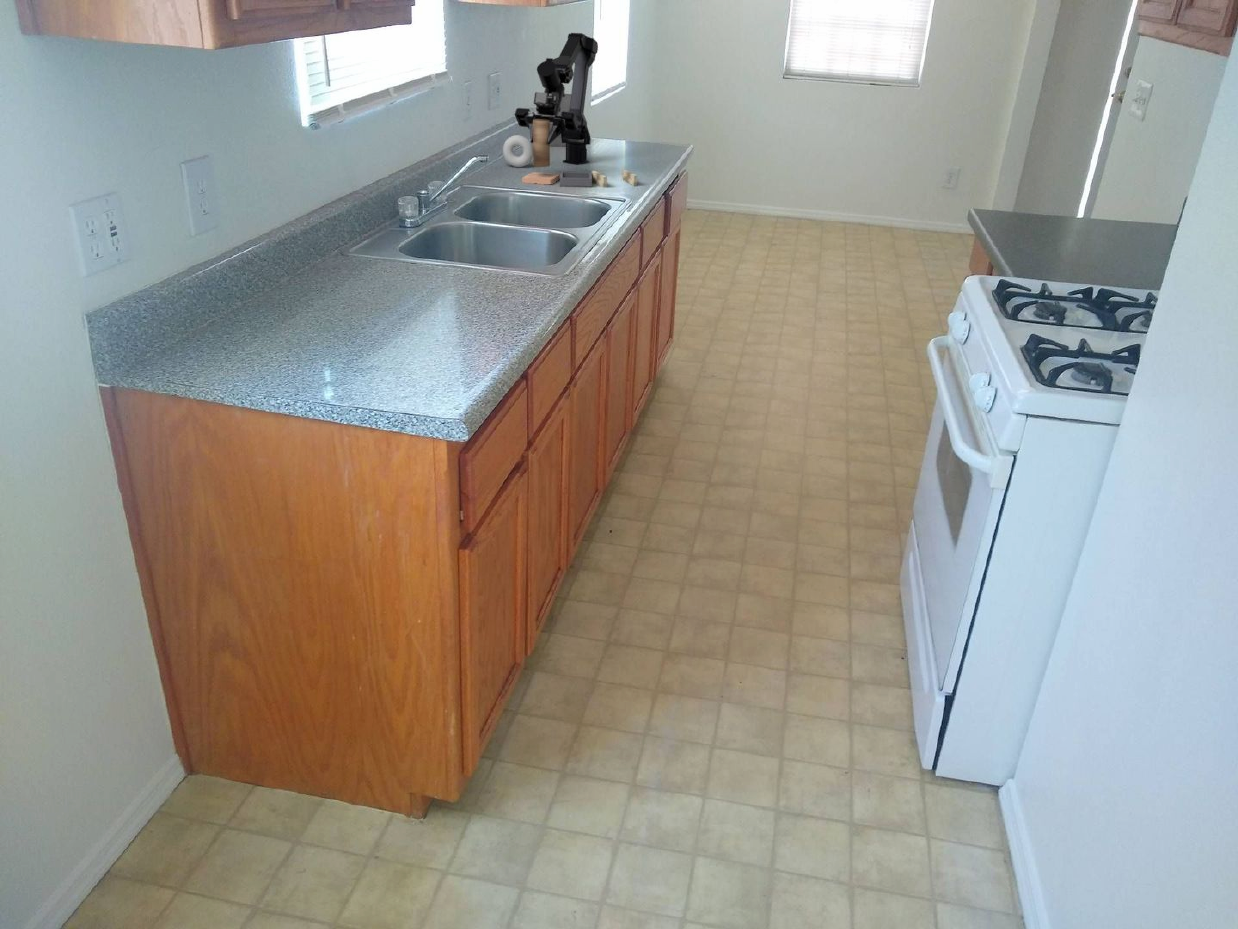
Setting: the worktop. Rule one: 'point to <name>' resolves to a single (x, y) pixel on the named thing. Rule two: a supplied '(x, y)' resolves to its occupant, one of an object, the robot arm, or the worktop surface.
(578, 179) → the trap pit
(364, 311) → the worktop surface
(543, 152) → the walnut post
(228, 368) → the worktop surface
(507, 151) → the donut
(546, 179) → the pad
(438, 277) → the worktop surface
